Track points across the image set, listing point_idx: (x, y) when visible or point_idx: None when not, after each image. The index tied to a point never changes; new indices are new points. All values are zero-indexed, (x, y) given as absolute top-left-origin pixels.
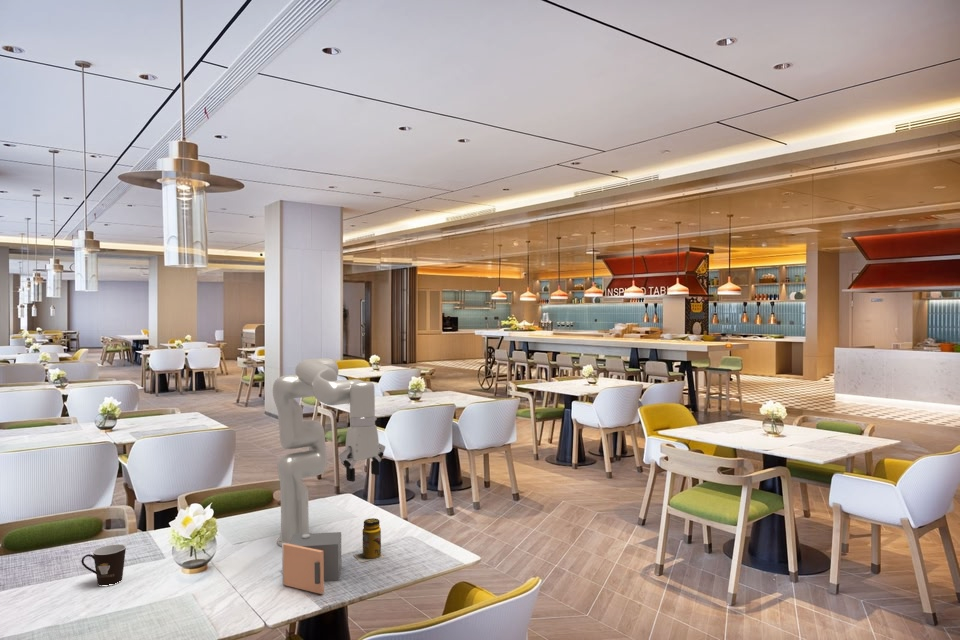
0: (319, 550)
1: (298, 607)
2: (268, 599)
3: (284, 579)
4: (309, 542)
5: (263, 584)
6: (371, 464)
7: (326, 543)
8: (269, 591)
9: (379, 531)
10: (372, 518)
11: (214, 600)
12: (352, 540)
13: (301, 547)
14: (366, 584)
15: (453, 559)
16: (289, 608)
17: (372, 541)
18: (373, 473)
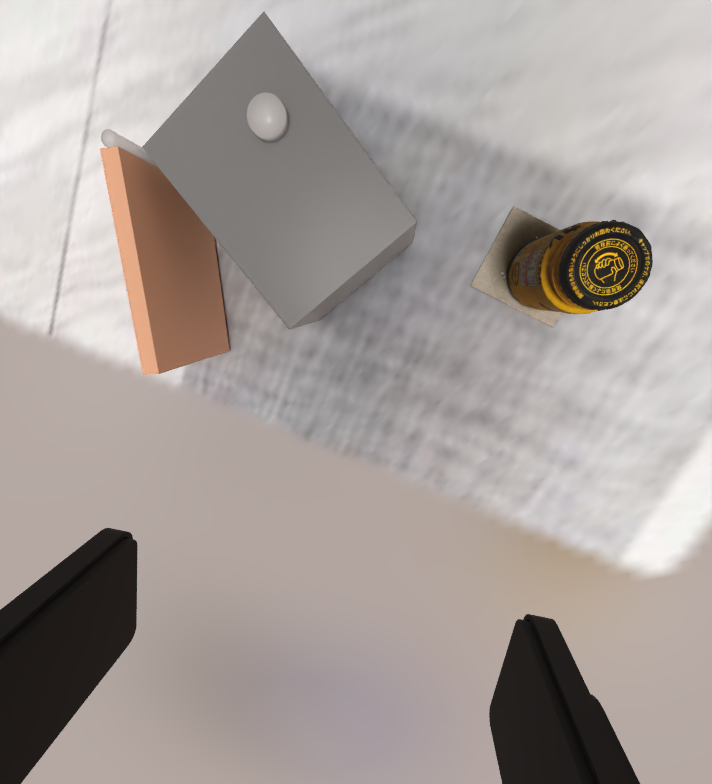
0: (151, 357)
1: None
2: None
3: None
4: (236, 194)
5: None
6: (569, 773)
7: (268, 276)
8: None
9: (586, 312)
10: (644, 246)
11: (20, 80)
12: (673, 58)
13: (127, 260)
14: (341, 413)
15: (623, 537)
16: (126, 330)
17: (535, 300)
18: (510, 658)
